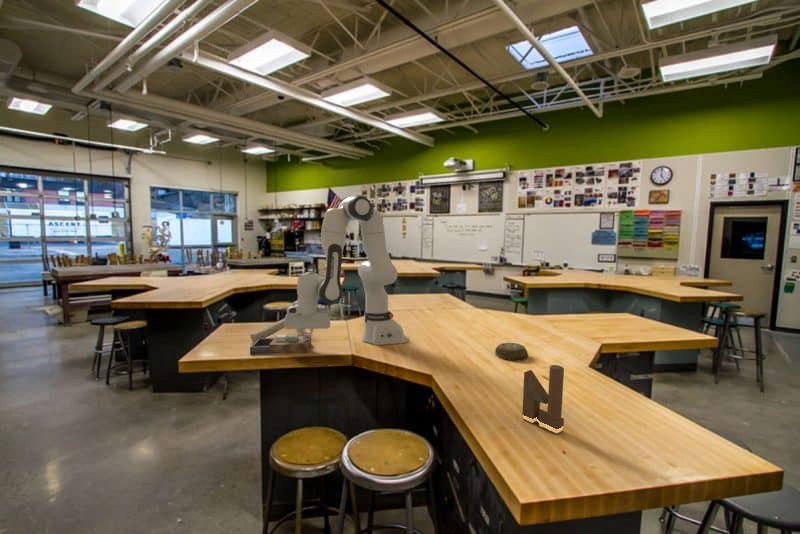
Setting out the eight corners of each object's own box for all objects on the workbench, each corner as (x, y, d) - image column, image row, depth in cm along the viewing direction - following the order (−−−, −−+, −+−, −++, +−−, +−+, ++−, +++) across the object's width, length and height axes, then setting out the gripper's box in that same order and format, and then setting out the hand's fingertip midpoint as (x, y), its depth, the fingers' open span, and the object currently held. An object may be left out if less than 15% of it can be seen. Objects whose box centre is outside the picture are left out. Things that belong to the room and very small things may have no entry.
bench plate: (311, 344, 176) (311, 335, 176) (306, 353, 164) (306, 344, 163) (276, 344, 175) (276, 336, 175) (269, 353, 162) (268, 344, 162)
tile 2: (298, 338, 171) (298, 334, 171) (296, 341, 167) (296, 336, 167) (289, 338, 171) (289, 334, 171) (287, 341, 167) (287, 337, 167)
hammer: (252, 324, 173) (302, 301, 196) (246, 323, 176) (296, 300, 198) (260, 354, 177) (308, 328, 200) (254, 352, 180) (302, 326, 203)
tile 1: (287, 338, 171) (287, 334, 171) (285, 341, 167) (285, 337, 167) (278, 338, 170) (278, 334, 170) (276, 341, 166) (276, 337, 166)
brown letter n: (528, 415, 111) (531, 356, 109) (563, 431, 102) (567, 367, 100) (521, 419, 108) (524, 359, 106) (556, 435, 100) (560, 370, 98)
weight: (489, 353, 167) (489, 342, 166) (514, 350, 171) (514, 339, 171) (507, 363, 154) (507, 351, 154) (534, 360, 159) (534, 348, 158)
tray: (276, 344, 175) (276, 338, 175) (269, 353, 162) (268, 346, 162) (259, 344, 174) (258, 338, 174) (250, 353, 162) (249, 347, 161)
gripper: (331, 306, 172) (331, 335, 173) (286, 306, 170) (286, 336, 172) (330, 309, 166) (330, 339, 167) (282, 309, 164) (283, 340, 165)
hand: (307, 337), depth 169 cm, fingers closed
